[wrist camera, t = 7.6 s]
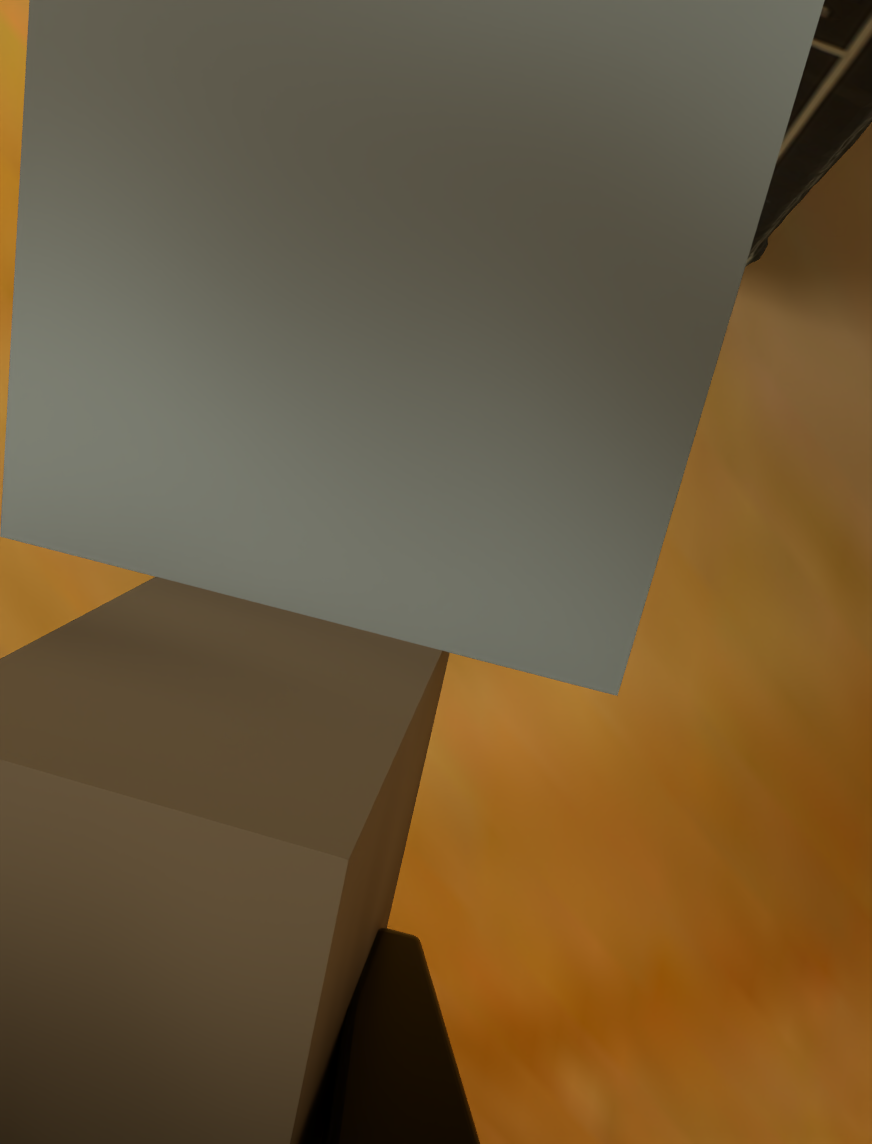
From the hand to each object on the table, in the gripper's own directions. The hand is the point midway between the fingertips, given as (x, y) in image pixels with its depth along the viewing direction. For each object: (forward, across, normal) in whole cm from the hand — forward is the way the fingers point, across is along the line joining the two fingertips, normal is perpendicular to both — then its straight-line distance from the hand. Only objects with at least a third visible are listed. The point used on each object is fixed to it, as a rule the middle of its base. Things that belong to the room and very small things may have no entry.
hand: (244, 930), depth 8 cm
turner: (+1, 0, -4) cm, 4 cm away
